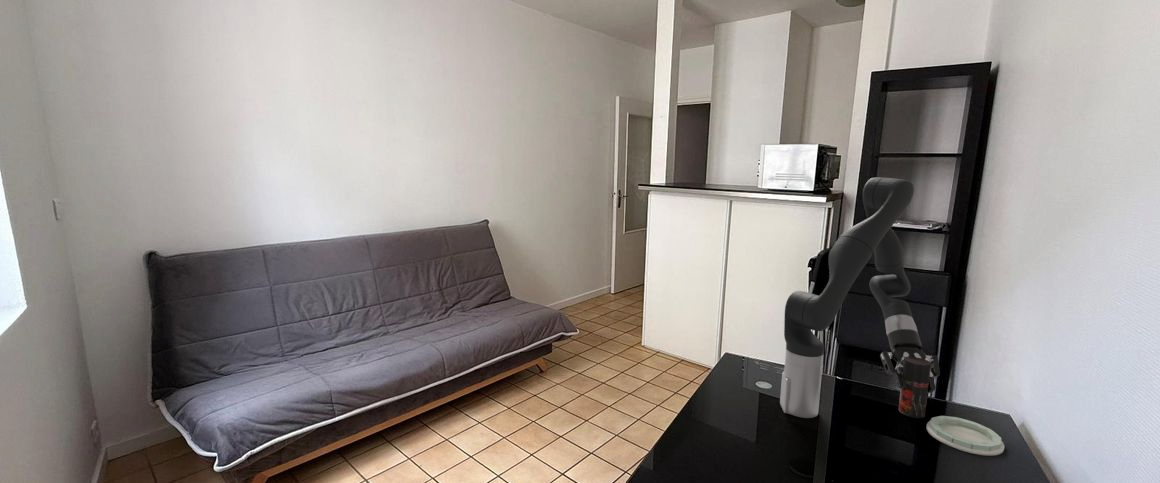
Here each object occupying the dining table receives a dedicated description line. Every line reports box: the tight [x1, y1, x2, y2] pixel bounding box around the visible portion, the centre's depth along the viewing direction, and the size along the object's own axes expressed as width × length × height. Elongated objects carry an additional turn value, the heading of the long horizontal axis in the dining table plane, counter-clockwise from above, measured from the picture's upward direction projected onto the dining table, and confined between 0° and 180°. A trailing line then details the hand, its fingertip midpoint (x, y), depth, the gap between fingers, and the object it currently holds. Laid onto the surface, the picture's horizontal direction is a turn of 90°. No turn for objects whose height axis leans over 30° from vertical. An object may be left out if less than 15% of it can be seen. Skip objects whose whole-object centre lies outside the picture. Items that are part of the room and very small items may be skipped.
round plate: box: [926, 415, 1005, 457], centre depth 116 cm, size 15×15×2 cm
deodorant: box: [898, 357, 931, 419], centre depth 127 cm, size 6×6×15 cm
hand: (917, 390), depth 125 cm, fingers closed on deodorant, 6 cm apart
